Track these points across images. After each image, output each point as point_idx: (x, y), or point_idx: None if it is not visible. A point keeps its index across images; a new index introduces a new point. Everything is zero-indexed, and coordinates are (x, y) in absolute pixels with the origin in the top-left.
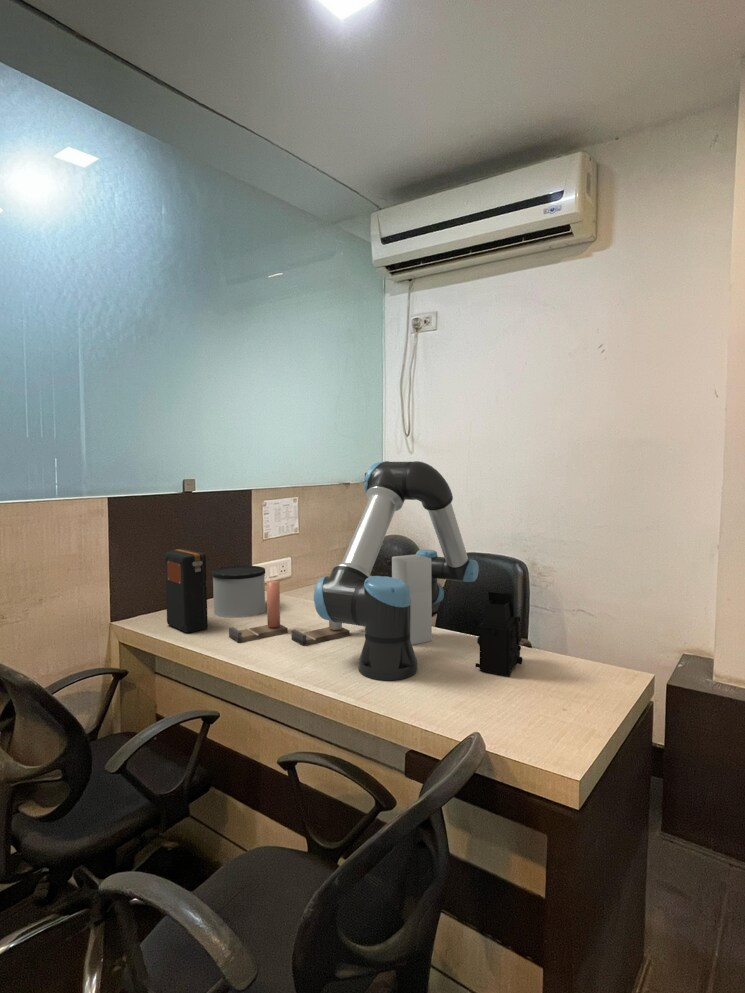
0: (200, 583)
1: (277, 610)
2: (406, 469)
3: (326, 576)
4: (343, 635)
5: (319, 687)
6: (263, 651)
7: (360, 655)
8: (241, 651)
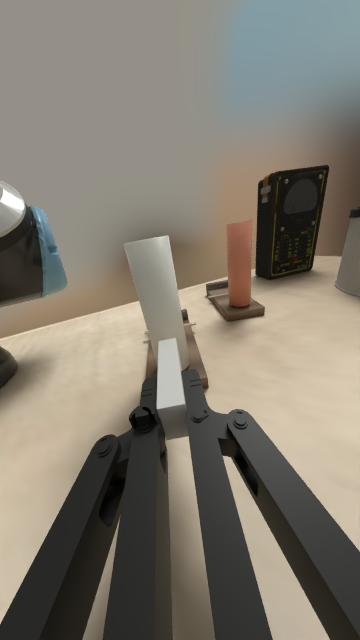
0: (267, 219)
1: (229, 278)
2: None
3: (31, 206)
4: None
5: (42, 329)
6: None
7: (1, 347)
8: None
